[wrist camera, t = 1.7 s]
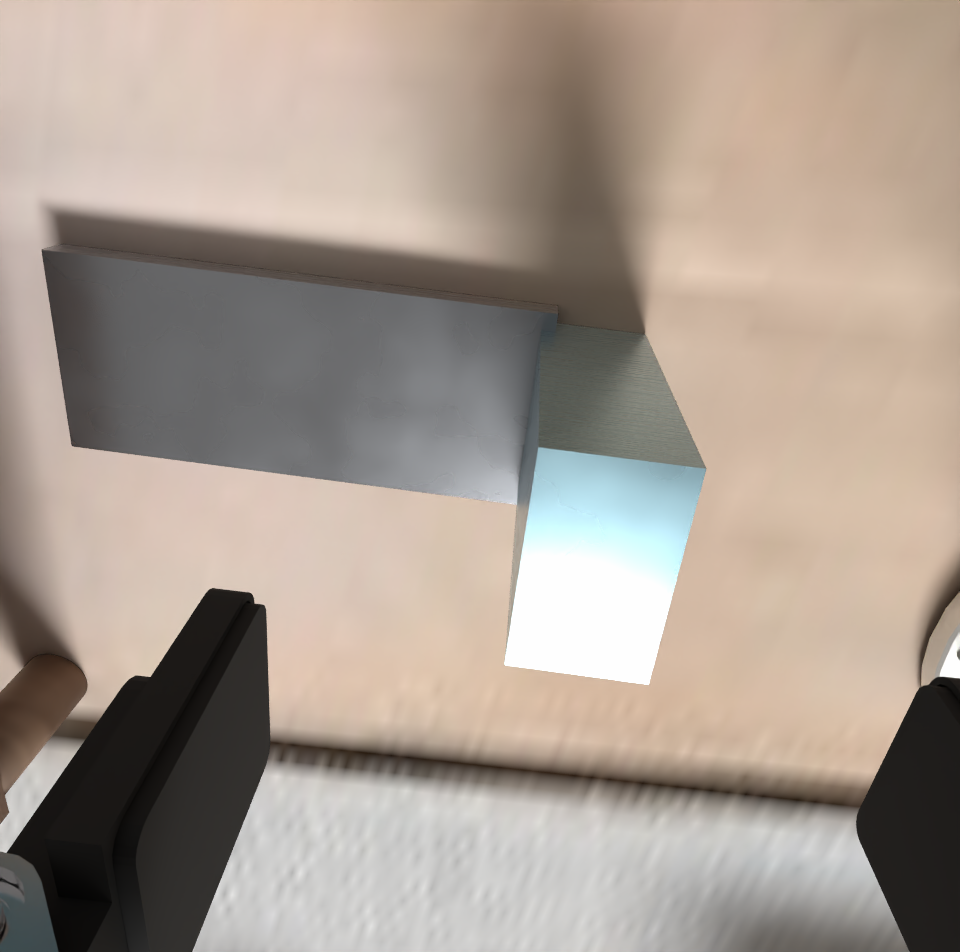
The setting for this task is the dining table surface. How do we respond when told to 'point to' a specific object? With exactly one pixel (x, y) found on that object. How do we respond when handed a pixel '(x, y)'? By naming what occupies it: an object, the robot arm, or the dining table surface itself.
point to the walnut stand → (34, 713)
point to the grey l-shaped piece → (404, 420)
